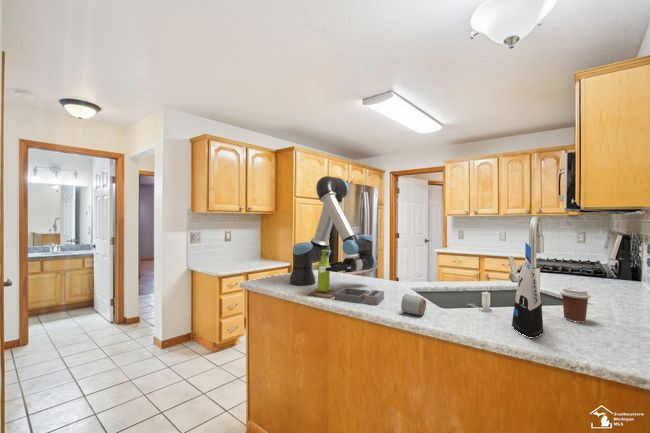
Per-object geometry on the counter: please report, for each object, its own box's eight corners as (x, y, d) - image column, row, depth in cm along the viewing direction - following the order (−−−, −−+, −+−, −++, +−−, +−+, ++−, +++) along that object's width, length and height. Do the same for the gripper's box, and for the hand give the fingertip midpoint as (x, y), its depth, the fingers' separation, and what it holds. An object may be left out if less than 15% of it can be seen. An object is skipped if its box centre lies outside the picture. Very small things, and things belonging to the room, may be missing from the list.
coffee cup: (594, 321, 116) (594, 290, 116) (583, 325, 112) (584, 293, 112) (566, 314, 124) (566, 285, 124) (555, 318, 120) (555, 287, 120)
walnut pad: (319, 290, 162) (319, 288, 162) (339, 293, 156) (339, 291, 156) (308, 295, 151) (308, 293, 151) (330, 298, 146) (330, 296, 146)
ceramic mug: (420, 318, 119) (420, 298, 119) (400, 314, 124) (400, 295, 124) (429, 312, 127) (429, 293, 127) (410, 308, 132) (410, 290, 132)
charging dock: (344, 293, 156) (344, 285, 156) (384, 298, 147) (384, 290, 147) (334, 299, 144) (334, 291, 144) (376, 305, 135) (376, 296, 135)
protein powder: (539, 320, 118) (540, 242, 118) (547, 342, 97) (548, 248, 97) (510, 315, 123) (511, 241, 122) (512, 336, 102) (513, 246, 101)
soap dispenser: (327, 291, 149) (328, 251, 149) (315, 289, 153) (316, 250, 152) (333, 289, 154) (334, 249, 154) (321, 287, 158) (322, 248, 157)
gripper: (363, 274, 156) (326, 279, 143) (341, 269, 172) (306, 273, 159) (363, 259, 156) (326, 263, 143) (341, 255, 172) (306, 258, 158)
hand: (315, 268), depth 151 cm, fingers closed on soap dispenser, 6 cm apart
